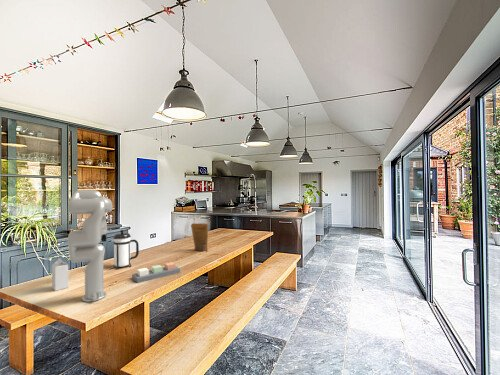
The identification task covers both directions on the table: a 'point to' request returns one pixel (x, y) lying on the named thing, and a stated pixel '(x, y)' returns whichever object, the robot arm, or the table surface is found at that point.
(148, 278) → the key console
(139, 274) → the cream key
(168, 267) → the terracotta key
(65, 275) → the milk carton
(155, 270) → the sage key
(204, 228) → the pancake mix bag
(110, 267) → the table surface
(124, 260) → the coffee press
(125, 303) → the table surface
